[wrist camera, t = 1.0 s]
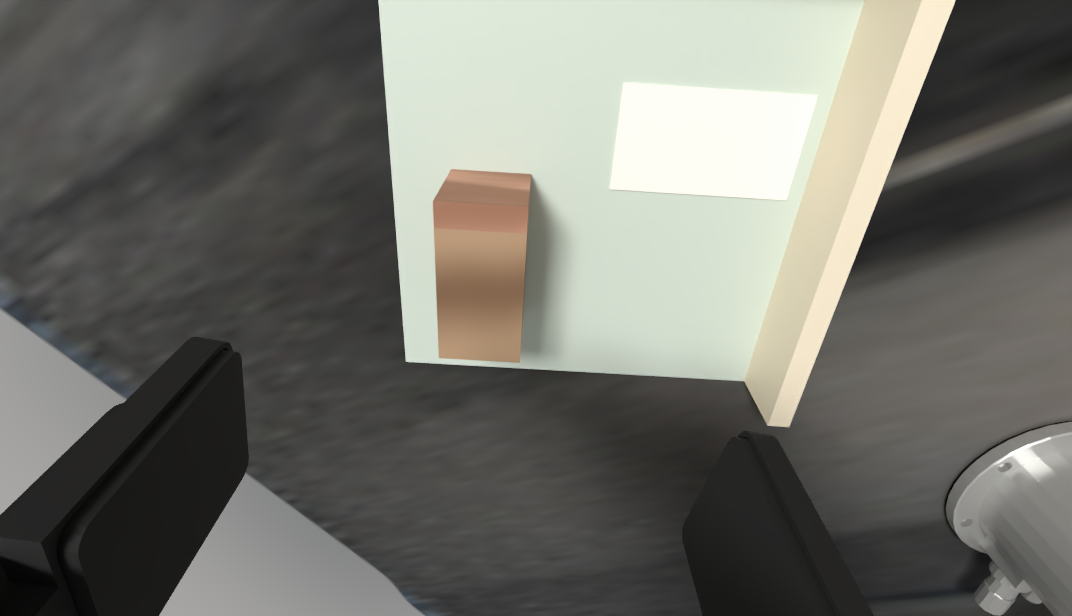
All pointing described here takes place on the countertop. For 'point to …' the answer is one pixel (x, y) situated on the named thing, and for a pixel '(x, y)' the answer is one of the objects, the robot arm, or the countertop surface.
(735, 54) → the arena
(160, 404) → the robot arm
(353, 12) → the countertop surface
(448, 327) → the copper block
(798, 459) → the countertop surface
